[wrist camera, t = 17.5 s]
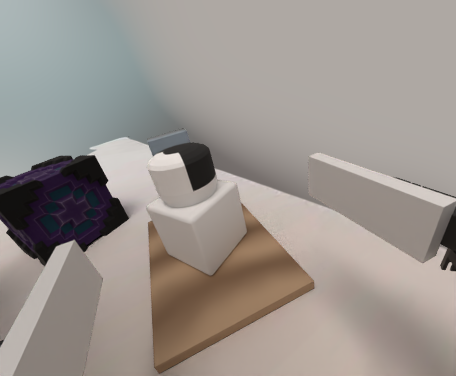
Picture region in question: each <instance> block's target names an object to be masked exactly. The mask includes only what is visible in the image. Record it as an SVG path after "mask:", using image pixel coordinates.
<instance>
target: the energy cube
mask: <svg viewBox="0 0 456 376" xmlns="http://www.w3.org/2000/svg"><path fill="white" fill-rule="evenodd" d="M107 182H108V179H107V177H106V175H105V174H104V172H103V170H102V168H101V166H100V164H99V163H98V161H97V159H96V157H95V155H91V156H78V157H76V158H75V159H74V160H73V159H72V157H71V156H58V157H56V158H53V159H50V160H47V161H45V162H42V163H39V164H36V165H34V166H32V168H31V171H28V172H25V173H23V174H20V175H18V176H15V177H10V176H4V177H1V178H0V220H1V221H2V222H3V223H4V224H5V225H6V226H7V227H8V231H7V232H6V233H7V234H8V235H9V236H10V237H11V238H12V239H13V241H14V242H15V243H16V244H17V245H18V246H19V247H20V248H21V249H22V250H23V251H24V252H25V253H26V254H28V255H29V256H31V257H32V258H33V259H35V258H37V257H38V259H39V260H40V262H41V264H42V265H44V266H46V264H47V262H48V260H49V258H50V257H51V255H52V253H53V251H54V249H55V248H56V246H59V245H62V244H65V243H67V242H70V241H73V240H75V241H76V243H77V244H78V245H79V247H80V248H81V249H82V251H83V252H85V251H86V250H87V245H88V244H89V243H91V242H92V241H93V240H95V239H96V238H97V237H99V236H100V235H108V234H109V233H111V232H112V231H113V230H115V229H116V228H117V227H119V226H120V225H121V224H123V223H124V222H125V221H127V220H128V219H129V218H128V216H127V214H126V212H125V210H124V209H123V207H122V205H121V203H120V201H119V199H118V198H113V197H112V196H111V194H110V192H109V190H108V188H107V187H106V183H107Z"/></svg>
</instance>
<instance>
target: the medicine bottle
mask: <svg viewBox="0 0 456 376" xmlns="http://www.w3.org/2000/svg"><path fill="white" fill-rule="evenodd" d="M147 168H148V171H149V173H150V175H151V178H152V180H153V182H154V185H155V187H156V189H157V192H158V194H159V196H160V197H159V198H157V199H156V200H154V201H153V202H151V203H150V204H148V205H147V207H146V209H147V211H148V213H149V215H150V217H151V219H152V222H153V224H154V226H155V228H156V230H157V232H158V234H159V236H160V238H161V240H162V242H163V244H164V247H165V249H166V251H167V253H168V254H169V255H171V256H173V257H175V258H177V259H179V260H181V261H182V262H184V263H186V264H188V265H190V266H192V267H194V268H196V269H198V270H200V271H202V272H204V273H206V274H208V275H210V276H211V275H213V274H214V273H215V272H216V270H217V269H218V268H219V267H220V265H221V264H222V263H223V262H224V260H225V259H226V258H227V257H228V255H229V254H230V253H231V252H232V250H233V249H234V248H235V247H236V246H237V244H238V243H239V242H240V241H241V239H242V238H243V237H244V236H245V234H246V233H247V229H246V225H245V220H244V215H243V211H242V206H241V201H240V197H239V192H238V187H237V184H236V183H235V182H230V181H222V180H217V177H216V173H215V169H214V166H213V161H212V157H211V154H210V150H209V148H208V147H207V146H205V145H204V144H199V143H184V144H179V145H175V146H172V147H169V148H166V149H164V150H162V151H160V152H158V153H157V154H156V155H154V156H153V157H152V158H151V159H150V160H149V162H148V165H147Z"/></svg>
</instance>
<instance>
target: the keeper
mask: <svg viewBox="0 0 456 376" xmlns="http://www.w3.org/2000/svg"><path fill="white" fill-rule="evenodd" d="M147 142H148V145H149V147H150V150H151V152H152V155H153V156H154V155H156V154H157V153H158V152H160V151H162V150H164V149H166V148H169V147H172V146H175V145H179V144H184V143H190V140H189V137H188V134H187V131H186V130H185V129H183V128H182V129H179V130H175V131H172V132H169V133H165V134H162V135H158V136H155V137H151V138H148V139H147ZM241 206H242V211H243V215H244V220H245V225H246V229H247V233H246V234H245V236H244V237H243V238H242V239H241V241H240V242H239V243H238V244H237V246H236V247H235V248H234V249H233V250H232V252H231V253H230V254H229V255H228V257H227V258H226V259H225V260H224V262H223V263H222V264H221V265H220V267H219V268H218V269H217V270H216V272H215V273H214V274H213V275H211V276H210V275H208V274H206V273H204V272H202V271H200V270H198V269H196V268H194V267H192V266H190V265H188V264H186V263H184V262H182V261H181V260H179V259H177V258H175V257H173V256H171V255H169V254H168V253H167V251H166V249H165V247H164V244H163V242H162V240H161V238H160V236H159V234H158V232H157V230H156V228H155V226H154V224H153V222H152V221H150V222H148V231H149V254H150V278H151V302H152V325H153V349H154V368H155V369H156V370H157V371H158V373H159V374H160V373H161V372H163V371H165V370H167V369H169V368H170V367H172V366H174V365H176V364H178V363H180V362H181V361H183V360H185V359H187V358H189V357H190V356H192V355H194V354H196V353H198V352H199V351H201V350H203V349H205V348H207V347H209V346H210V345H212V344H214V343H216V342H218V341H219V340H221V339H223V338H225V337H227V336H228V335H230V334H232V333H234V332H236V331H238V330H239V329H241V328H243V327H245V326H247V325H248V324H250V323H252V322H254V321H256V320H257V319H259V318H261V317H263V316H265V315H267V314H268V313H270V312H272V311H274V310H276V309H277V308H279V307H281V306H283V305H285V304H286V303H288V302H290V301H292V300H294V299H296V298H297V297H299V296H301V295H303V294H305V293H306V292H308V291H310V290H312V289H314V281H313V279H312V278H311V277H310V276H309V275H308V274H307V273H306V272H305V271H304V270H303V269H302V268H301V267H300V266H299V264H298V263H297V262H296V261H295V260H294V259H293V258H292V257H291V256H290V255H289V254H288V253H287V252H286V250H285V249H284V248H283V247H282V246H281V245H280V244H279V243H278V242H277V241H276V240H275V239H274V238H273V236H272V235H271V234H270V233H269V232H268V231H267V230H266V229H265V228H264V227H263V226H262V225H261V224H260V222H259V221H258V220H257V219H256V218H255V217H254V216H253V215H252V214H251V213H250V212H249V211H248V210H247V208H246V207H245V206H244V205H243V204H242V203H241Z"/></svg>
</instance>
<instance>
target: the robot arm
mask: <svg viewBox="0 0 456 376" xmlns="http://www.w3.org/2000/svg"><path fill="white" fill-rule="evenodd" d="M308 161H309V162H308V165H309V166H308V169H309V195H311V196H312V197H314V198H316V199H317V200H319V201H321V202H323V203H324V204H325V205H327V206H329V207H330V208H332V209H334V210H335V211H337V212H339V213H340V214H342V215H344V216H345V217H347V218H349V219H350V220H352V221H353V222H355V223H357V224H358V225H360V226H362V227H363V228H365V229H367V230H368V231H370V232H372V233H373V234H375V235H377V236H378V237H380V238H382V239H383V240H385V241H386V242H388V243H390V244H391V245H393V246H395V247H396V248H398V249H400V250H401V251H403V252H405V253H406V254H408V255H410V256H411V257H413V258H415V259H416V260H418V261H419V262H421V263H424V262H426V261H428V260H429V259H431V258H433V257H434V256H436V254H437V251H438V249H439V246H440V244H441V245H443V246H445V247H447V248H448V249H447V251H446V254H445V256H444V258H443V260H442V263H441V265H440V266H441V269H442V270H446V268H447V265H448V263H449V262H452V266H451V268H450V271H456V197H454V196H451V195H448V194H445V193H442V192H439V191H436V190H433V189H430V188H427V187H424V186H423V187H421V186H420V185H418V184H415V183H410V182H409V181H405V180H403V179H400V178H395V177H390V176H387V175H384V174H381V173H378V172H375V171H372V170H369V169H366V168H363V167H360V166H357V165H354V164H351V163H348V162H345V161H342V160H339V159H336V158H334V157H331V156H327V155H324V154H322V153H316V154H313V155H310V156H309V157H308ZM102 281H103V278H102V277H101V275H100V274H99V273H98V271H97V270H96V268H95V267H94V266H93V264H92V263H91V262H90V260H89V259H88V258H87V256H86V255H85V254H84V252H83V251H82V249H81V248H80V247H79V245H78V244H77V243H76V241H75V240H73V241H70V242H67V243H65V244H62V245H59V246H56V248H55V249H54V251H53V253H52V255H51V257H50V258H49V260H48V262H47V264H46V266H45V267H44V269H43V271H42V273H41V275H40V276H39V278H38V280H37V282H36V284H35V285H34V287H33V289H32V291H31V293H30V295H29V296H28V298H27V300H26V302H25V304H24V305H23V307H22V309H21V311H20V313H19V314H18V316H17V318H16V320H15V322H14V323H13V325H12V327H11V329H10V331H9V332H8V334H7V336H6V338H5V340H2V341H0V376H83V373H84V368H85V363H86V359H87V354H88V349H89V344H90V339H91V334H92V330H93V325H94V320H95V315H96V310H97V305H98V301H99V296H100V291H101V286H102Z"/></svg>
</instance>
